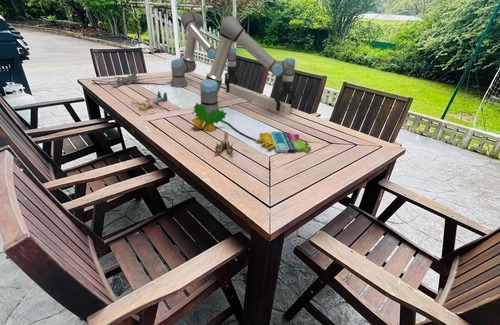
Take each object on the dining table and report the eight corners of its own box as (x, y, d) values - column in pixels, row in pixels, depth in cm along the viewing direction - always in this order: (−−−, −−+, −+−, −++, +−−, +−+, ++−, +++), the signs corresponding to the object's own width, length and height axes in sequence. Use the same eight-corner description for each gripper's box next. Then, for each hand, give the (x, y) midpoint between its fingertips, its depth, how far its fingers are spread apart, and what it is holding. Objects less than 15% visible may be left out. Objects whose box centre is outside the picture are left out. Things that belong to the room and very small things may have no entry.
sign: (313, 150, 142) (258, 149, 139) (312, 153, 143) (258, 152, 140) (301, 132, 164) (254, 130, 161) (301, 134, 165) (254, 133, 162)
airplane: (108, 79, 258) (106, 69, 253) (142, 77, 271) (140, 67, 266) (110, 89, 230) (108, 78, 224) (148, 87, 243) (146, 76, 238)
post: (289, 114, 200) (291, 104, 196) (284, 115, 196) (285, 106, 193) (231, 90, 250) (231, 83, 247) (225, 91, 247) (226, 83, 243)
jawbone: (234, 135, 144) (233, 125, 135) (233, 160, 138) (232, 151, 129) (217, 135, 144) (216, 125, 135) (216, 160, 138) (214, 150, 129)
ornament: (218, 133, 171) (224, 110, 169) (221, 134, 163) (227, 111, 161) (186, 125, 162) (192, 101, 160) (189, 126, 155) (195, 101, 153)
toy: (179, 93, 205) (158, 103, 179) (179, 102, 208) (159, 113, 183) (147, 89, 210) (122, 98, 184) (148, 98, 213) (124, 108, 188)
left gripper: (237, 64, 242) (236, 89, 254) (220, 65, 231) (220, 91, 243) (242, 66, 237) (241, 91, 249) (225, 67, 226) (224, 93, 238)
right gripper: (295, 78, 199) (291, 105, 209) (271, 81, 184) (268, 110, 195) (302, 80, 194) (298, 108, 204) (279, 83, 179) (275, 113, 190)
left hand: (230, 91), depth 246 cm, fingers closed on post, 6 cm apart
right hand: (284, 109), depth 199 cm, fingers open, 13 cm apart
